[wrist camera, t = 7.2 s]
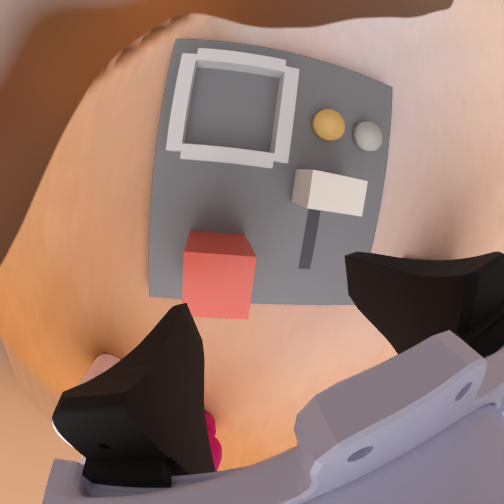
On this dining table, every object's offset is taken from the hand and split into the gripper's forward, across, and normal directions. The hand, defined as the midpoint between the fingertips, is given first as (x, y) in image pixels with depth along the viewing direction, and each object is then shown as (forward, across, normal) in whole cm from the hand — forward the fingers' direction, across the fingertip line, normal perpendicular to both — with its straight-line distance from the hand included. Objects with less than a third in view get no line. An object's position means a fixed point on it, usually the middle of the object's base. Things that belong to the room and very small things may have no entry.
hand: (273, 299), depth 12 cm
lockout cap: (+9, +2, +1) cm, 9 cm away
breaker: (+9, -6, -2) cm, 11 cm away
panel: (+10, -4, -4) cm, 12 cm away
